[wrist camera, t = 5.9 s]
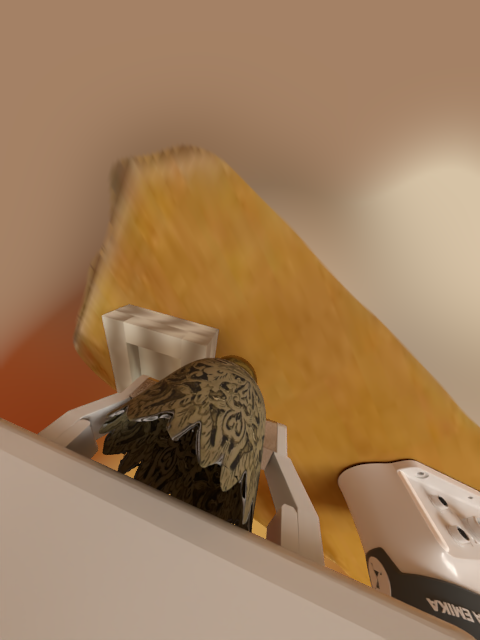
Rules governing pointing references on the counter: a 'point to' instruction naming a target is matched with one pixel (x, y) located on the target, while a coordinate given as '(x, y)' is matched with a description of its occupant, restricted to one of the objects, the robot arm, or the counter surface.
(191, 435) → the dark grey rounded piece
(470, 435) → the counter surface
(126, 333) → the white recessed square tray
